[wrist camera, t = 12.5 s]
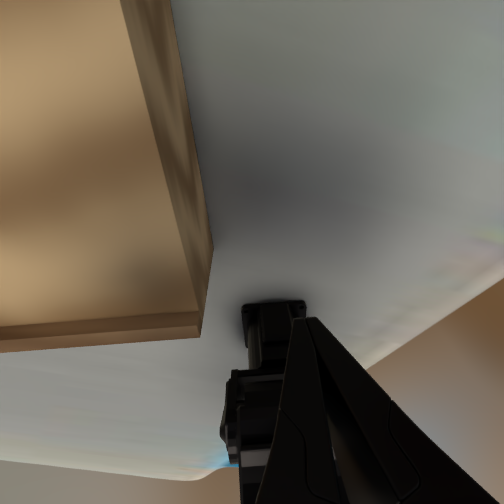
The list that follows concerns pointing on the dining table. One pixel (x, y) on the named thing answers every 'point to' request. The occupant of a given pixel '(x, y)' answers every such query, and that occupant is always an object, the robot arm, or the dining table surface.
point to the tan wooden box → (97, 178)
